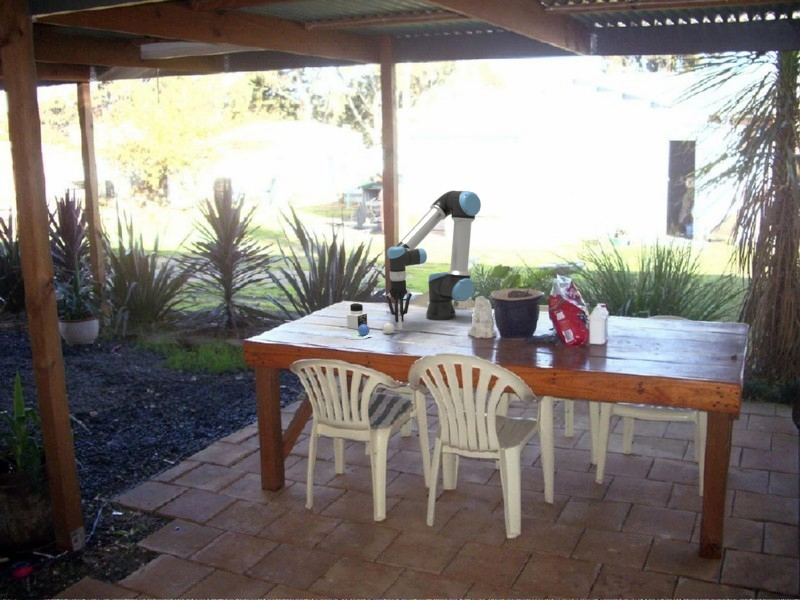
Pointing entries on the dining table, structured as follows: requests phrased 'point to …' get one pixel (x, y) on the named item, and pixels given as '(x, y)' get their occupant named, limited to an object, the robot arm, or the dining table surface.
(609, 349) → the dining table surface
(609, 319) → the dining table surface
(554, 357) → the dining table surface
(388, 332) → the cue ball
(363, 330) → the object ball
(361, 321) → the medicine bottle
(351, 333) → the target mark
